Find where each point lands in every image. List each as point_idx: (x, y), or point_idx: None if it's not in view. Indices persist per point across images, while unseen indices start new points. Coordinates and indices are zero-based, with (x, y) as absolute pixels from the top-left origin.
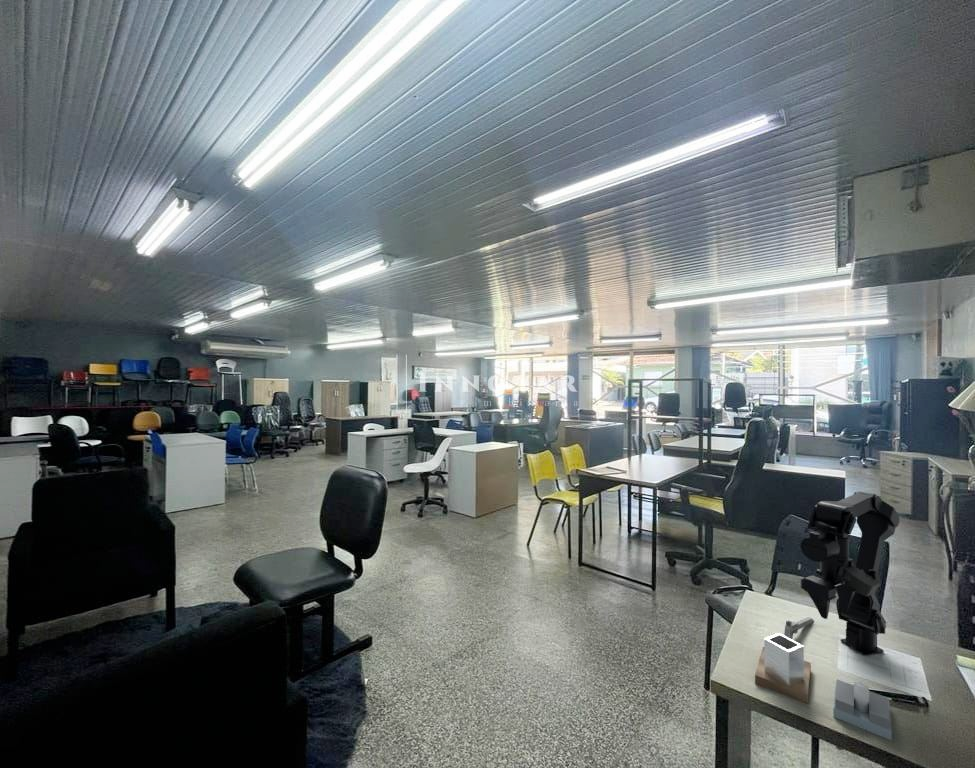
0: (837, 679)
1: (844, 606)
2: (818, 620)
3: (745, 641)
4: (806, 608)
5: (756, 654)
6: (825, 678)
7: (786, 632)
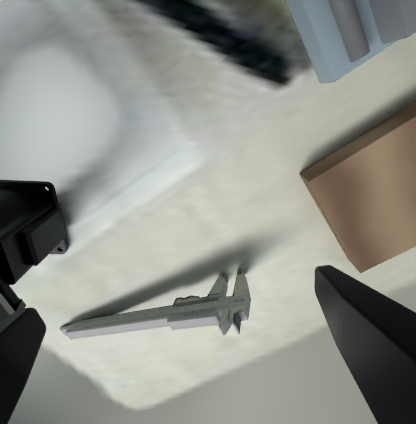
0: (406, 35)
1: (23, 341)
2: None
3: None
4: None
5: None
6: (294, 134)
7: (247, 299)
